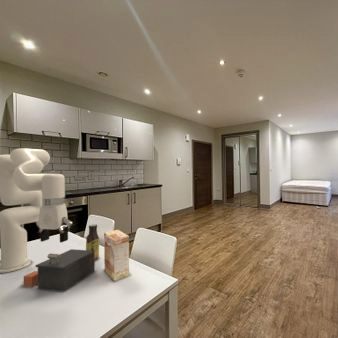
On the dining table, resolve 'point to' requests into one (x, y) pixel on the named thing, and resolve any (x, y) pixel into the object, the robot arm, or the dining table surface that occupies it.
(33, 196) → the robot arm
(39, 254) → the dining table surface
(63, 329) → the dining table surface
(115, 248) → the coffeecake box
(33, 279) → the block
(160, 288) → the dining table surface
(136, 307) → the dining table surface
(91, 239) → the sauce bottle
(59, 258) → the box lid with handle
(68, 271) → the dark grey hollow box
